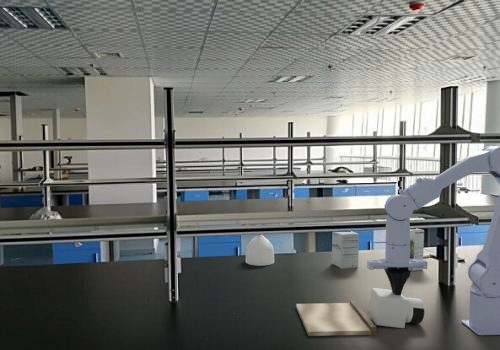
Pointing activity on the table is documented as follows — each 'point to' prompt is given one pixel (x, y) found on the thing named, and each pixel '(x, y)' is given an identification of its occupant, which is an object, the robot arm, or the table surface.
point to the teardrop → (259, 252)
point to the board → (335, 319)
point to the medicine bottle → (394, 309)
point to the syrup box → (416, 245)
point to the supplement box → (345, 249)
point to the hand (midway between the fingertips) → (396, 297)
